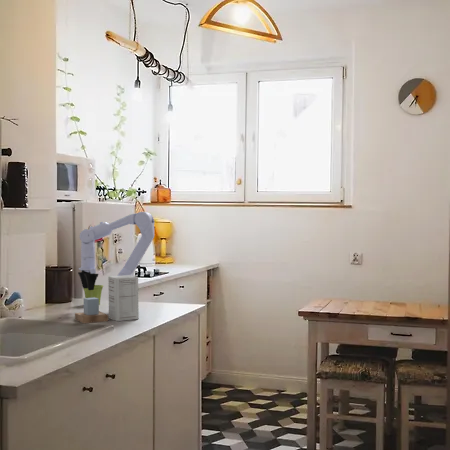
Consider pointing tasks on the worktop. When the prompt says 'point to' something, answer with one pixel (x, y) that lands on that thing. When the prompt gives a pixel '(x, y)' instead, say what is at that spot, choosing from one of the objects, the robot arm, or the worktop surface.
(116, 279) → the supplement box
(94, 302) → the slate block
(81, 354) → the worktop surface
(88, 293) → the plant pot
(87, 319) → the tan flat square block
